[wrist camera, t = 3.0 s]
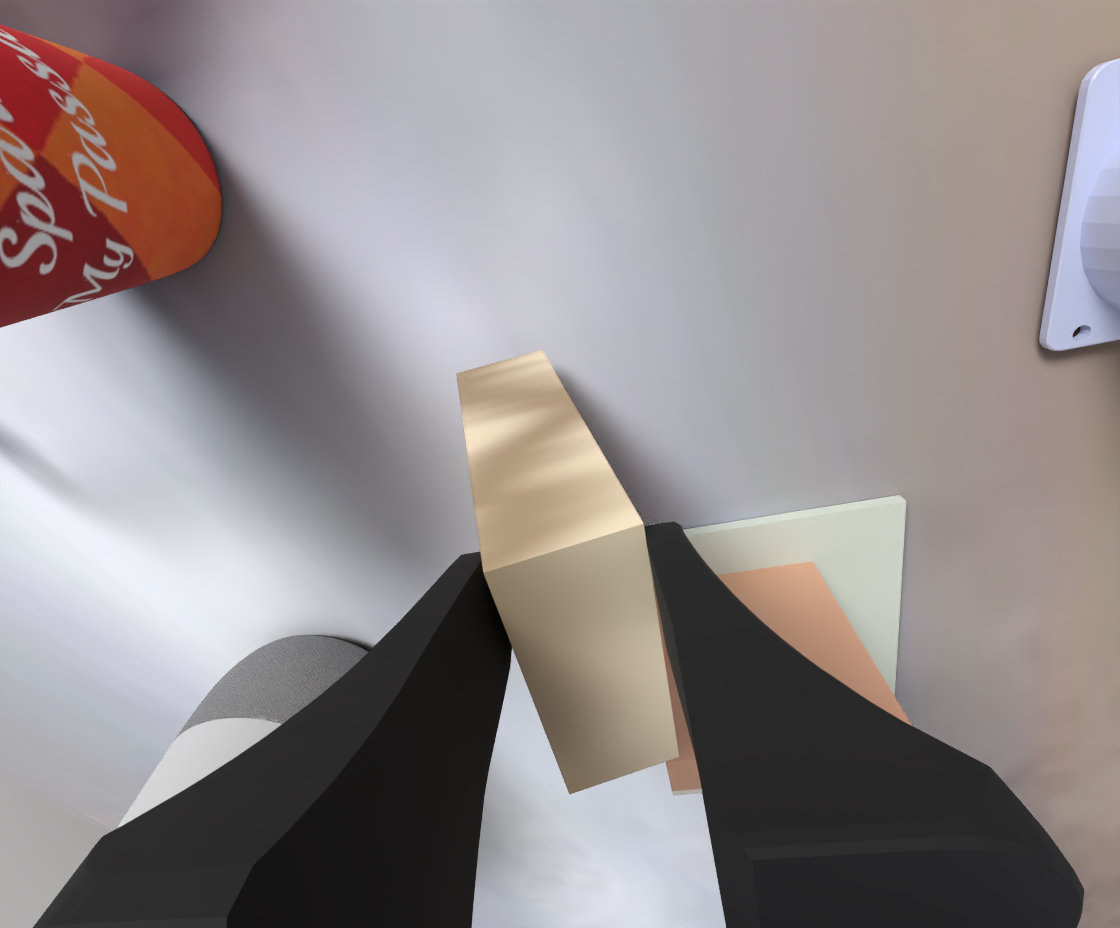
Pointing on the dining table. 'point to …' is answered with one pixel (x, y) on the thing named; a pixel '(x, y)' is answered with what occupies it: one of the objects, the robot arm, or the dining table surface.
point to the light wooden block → (567, 572)
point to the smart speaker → (247, 710)
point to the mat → (828, 561)
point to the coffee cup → (93, 180)
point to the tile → (804, 623)
